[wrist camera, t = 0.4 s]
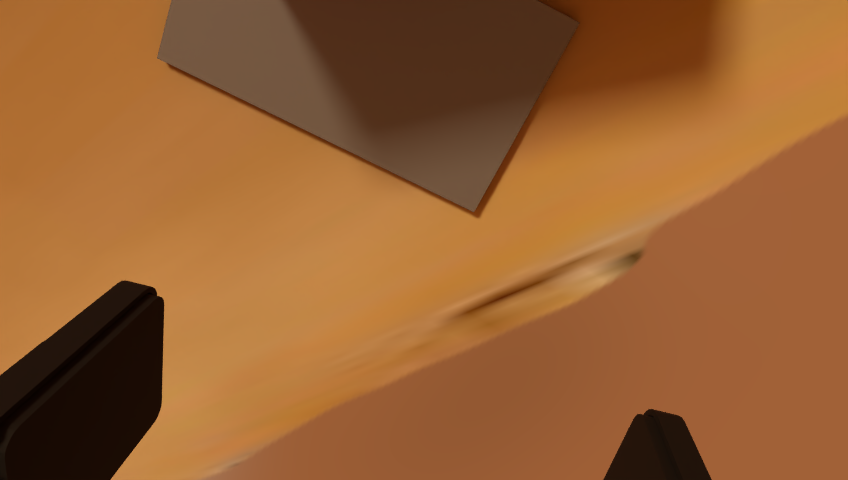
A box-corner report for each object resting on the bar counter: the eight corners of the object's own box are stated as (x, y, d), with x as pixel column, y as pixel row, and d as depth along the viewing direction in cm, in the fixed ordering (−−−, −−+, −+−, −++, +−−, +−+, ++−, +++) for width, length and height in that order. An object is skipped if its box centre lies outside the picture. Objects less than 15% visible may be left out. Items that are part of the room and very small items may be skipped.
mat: (220, -168, 33) (214, -172, 32) (577, 22, 35) (579, 22, 34) (163, 56, 38) (157, 58, 38) (474, 208, 41) (474, 212, 40)
